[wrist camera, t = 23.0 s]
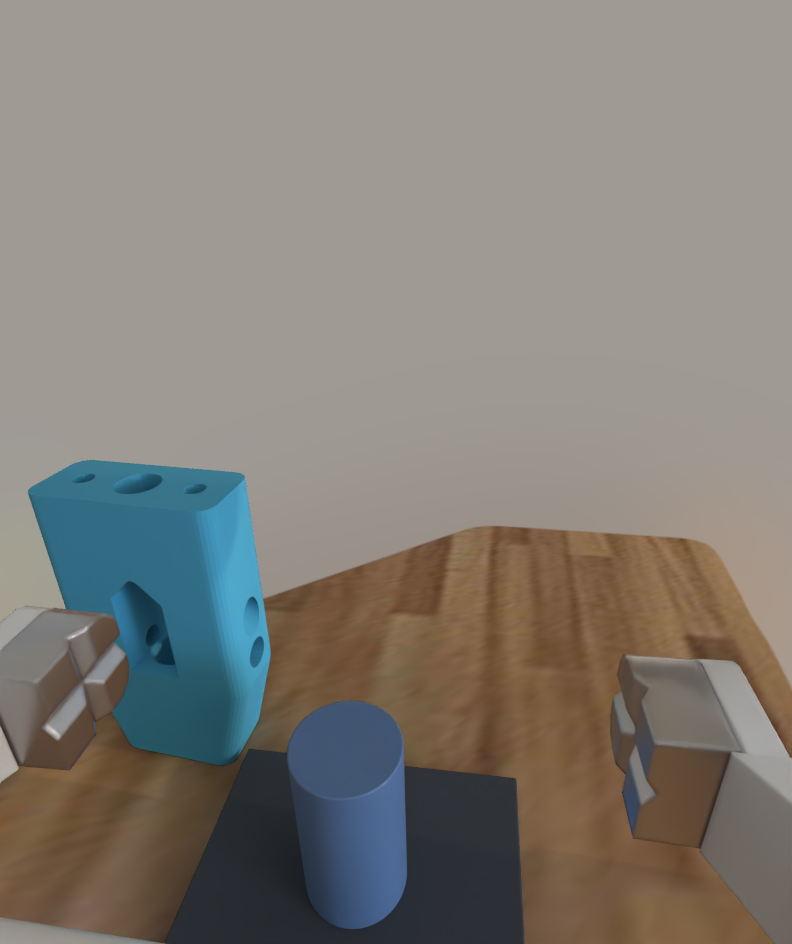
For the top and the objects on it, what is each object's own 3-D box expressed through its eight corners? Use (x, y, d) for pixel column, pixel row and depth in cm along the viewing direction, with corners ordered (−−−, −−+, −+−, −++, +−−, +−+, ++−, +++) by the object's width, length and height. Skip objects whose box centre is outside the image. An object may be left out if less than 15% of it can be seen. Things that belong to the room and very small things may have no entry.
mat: (515, 788, 38) (516, 777, 37) (529, 1083, 25) (530, 1073, 25) (250, 758, 40) (248, 748, 40) (142, 1013, 27) (137, 1002, 27)
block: (102, 740, 42) (19, 493, 33) (145, 689, 46) (81, 459, 38) (255, 772, 39) (207, 513, 31) (285, 714, 43) (250, 473, 35)
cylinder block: (412, 829, 34) (410, 705, 30) (399, 938, 29) (394, 807, 25) (320, 818, 35) (305, 695, 31) (292, 921, 30) (270, 791, 26)
